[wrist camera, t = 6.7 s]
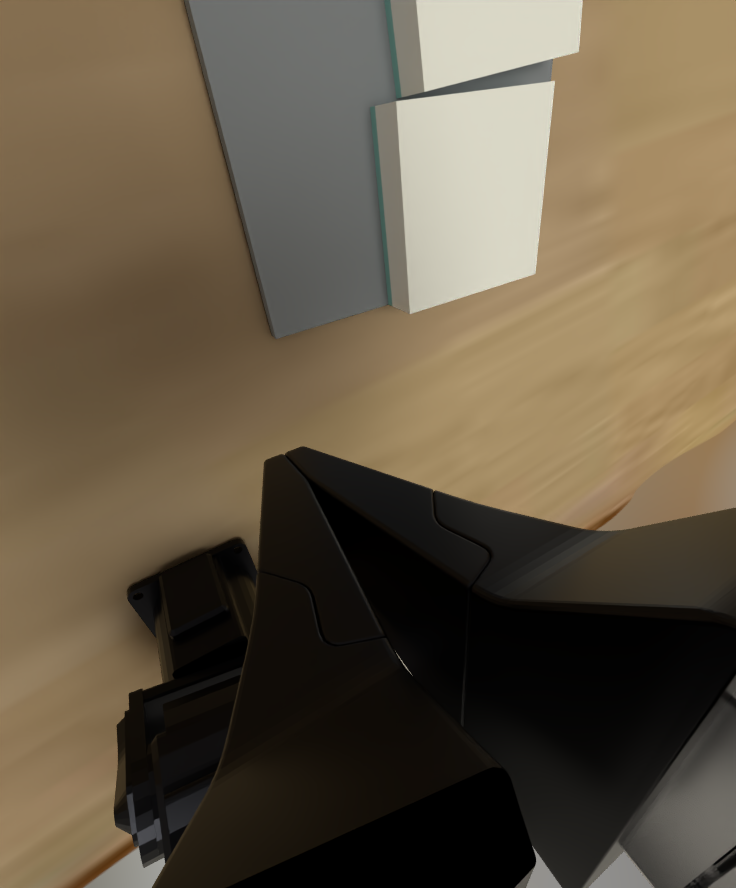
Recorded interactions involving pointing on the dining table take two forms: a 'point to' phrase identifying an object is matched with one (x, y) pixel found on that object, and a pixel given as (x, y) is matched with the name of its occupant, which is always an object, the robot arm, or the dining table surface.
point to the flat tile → (475, 38)
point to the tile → (460, 190)
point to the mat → (309, 143)
